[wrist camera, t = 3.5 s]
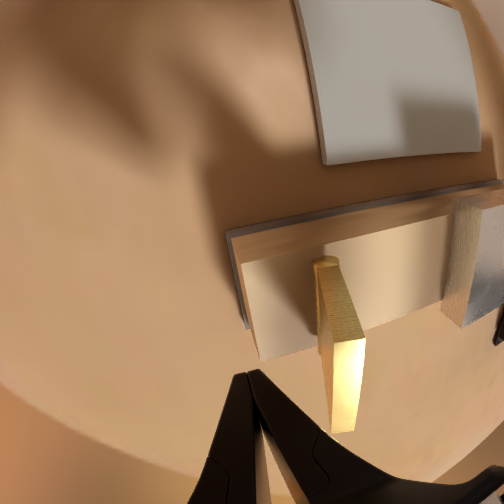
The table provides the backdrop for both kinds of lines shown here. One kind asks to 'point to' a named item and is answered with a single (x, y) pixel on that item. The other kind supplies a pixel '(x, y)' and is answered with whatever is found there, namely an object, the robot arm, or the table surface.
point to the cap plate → (475, 258)
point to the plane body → (344, 263)
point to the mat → (389, 78)
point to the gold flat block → (338, 343)
